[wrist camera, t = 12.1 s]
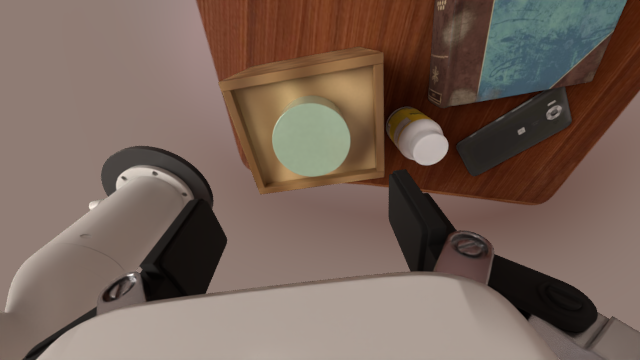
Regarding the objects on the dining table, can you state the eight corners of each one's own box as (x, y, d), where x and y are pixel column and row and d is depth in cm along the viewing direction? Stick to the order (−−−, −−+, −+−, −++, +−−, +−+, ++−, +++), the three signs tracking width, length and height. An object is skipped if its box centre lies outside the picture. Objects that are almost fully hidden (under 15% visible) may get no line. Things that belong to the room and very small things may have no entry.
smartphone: (568, 122, 34) (573, 124, 34) (470, 175, 39) (472, 178, 39) (559, 80, 31) (564, 81, 30) (453, 144, 36) (456, 146, 35)
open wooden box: (276, 148, 36) (259, 194, 26) (252, 66, 30) (217, 82, 19) (363, 134, 35) (384, 177, 24) (358, 46, 29) (383, 52, 18)
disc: (286, 166, 25) (283, 181, 22) (268, 102, 21) (262, 111, 19) (349, 157, 24) (353, 171, 22) (343, 89, 21) (346, 96, 18)
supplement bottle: (428, 117, 34) (465, 143, 26) (403, 146, 36) (429, 178, 28) (402, 98, 32) (431, 119, 24) (377, 129, 35) (397, 158, 26)
